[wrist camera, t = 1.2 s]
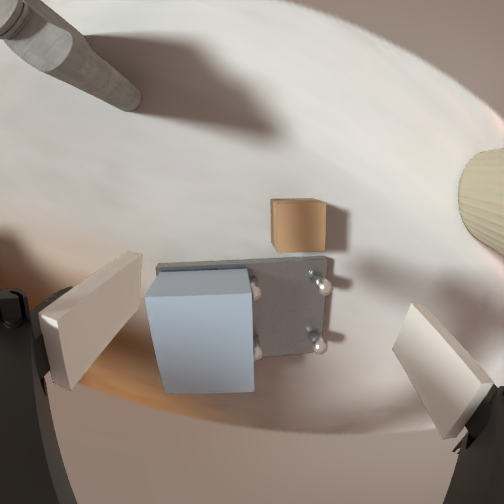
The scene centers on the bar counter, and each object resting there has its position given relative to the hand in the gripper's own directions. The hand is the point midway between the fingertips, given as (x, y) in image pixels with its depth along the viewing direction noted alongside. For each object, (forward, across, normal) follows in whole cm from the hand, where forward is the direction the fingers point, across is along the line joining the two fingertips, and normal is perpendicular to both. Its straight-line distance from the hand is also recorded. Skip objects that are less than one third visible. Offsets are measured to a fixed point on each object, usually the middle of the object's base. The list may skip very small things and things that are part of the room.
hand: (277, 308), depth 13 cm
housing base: (+22, +1, +11) cm, 24 cm away
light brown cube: (+22, -2, -1) cm, 23 cm away
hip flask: (+20, +24, -16) cm, 35 cm away
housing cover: (+19, +5, +12) cm, 23 cm away
